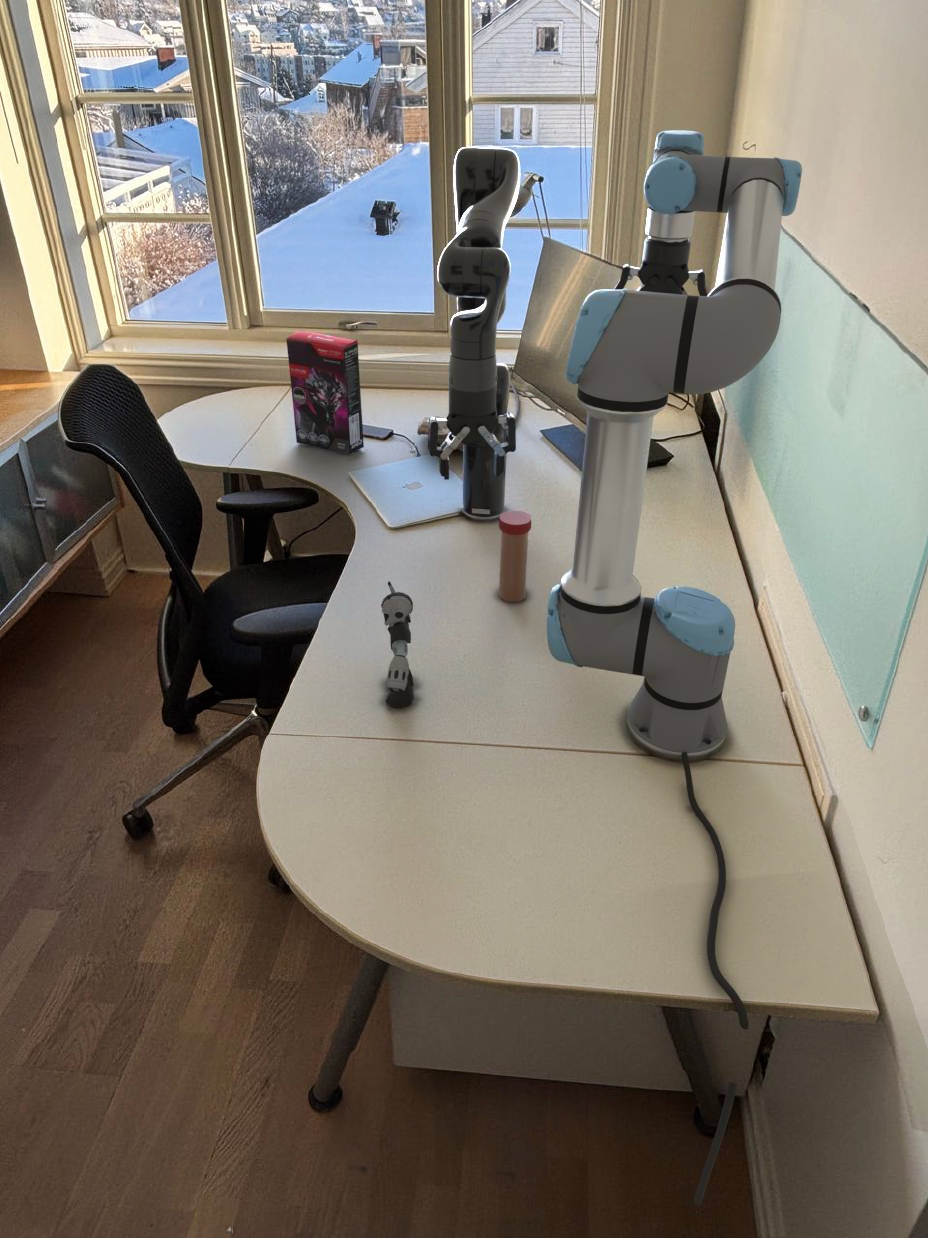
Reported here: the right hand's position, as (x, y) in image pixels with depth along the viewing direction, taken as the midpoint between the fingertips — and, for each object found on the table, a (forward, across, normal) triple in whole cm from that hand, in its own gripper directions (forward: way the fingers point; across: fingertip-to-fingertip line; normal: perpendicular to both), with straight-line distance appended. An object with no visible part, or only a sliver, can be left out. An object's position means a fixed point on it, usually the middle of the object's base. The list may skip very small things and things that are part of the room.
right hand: (652, 364), depth 163 cm
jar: (+41, +20, +18) cm, 49 cm away
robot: (+41, +31, +52) cm, 73 cm away
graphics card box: (+41, +80, -38) cm, 97 cm away
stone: (+41, +50, -47) cm, 79 cm away
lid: (+24, +20, +18) cm, 36 cm away
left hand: (+12, +26, +28) cm, 40 cm away
